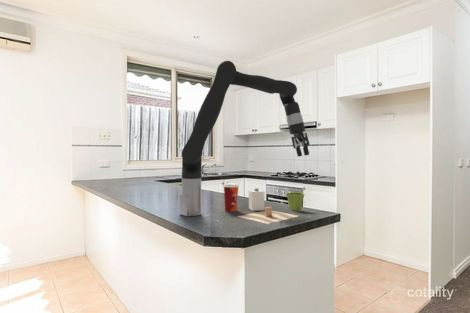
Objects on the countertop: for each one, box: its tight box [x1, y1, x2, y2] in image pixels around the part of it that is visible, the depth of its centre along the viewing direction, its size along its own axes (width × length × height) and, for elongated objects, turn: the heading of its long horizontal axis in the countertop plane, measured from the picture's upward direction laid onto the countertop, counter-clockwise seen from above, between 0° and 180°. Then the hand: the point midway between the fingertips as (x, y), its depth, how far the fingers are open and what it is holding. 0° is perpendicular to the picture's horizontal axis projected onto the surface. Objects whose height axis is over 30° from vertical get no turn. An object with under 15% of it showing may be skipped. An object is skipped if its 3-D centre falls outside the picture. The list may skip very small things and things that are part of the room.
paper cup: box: [223, 182, 240, 213], centre depth 141 cm, size 8×8×14 cm
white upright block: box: [248, 187, 266, 211], centre depth 145 cm, size 6×6×11 cm
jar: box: [264, 206, 273, 217], centre depth 128 cm, size 3×3×4 cm
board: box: [236, 210, 299, 225], centre depth 128 cm, size 22×18×1 cm
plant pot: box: [285, 192, 305, 212], centre depth 145 cm, size 9×9×9 cm
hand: (303, 155), depth 139 cm, fingers open, 8 cm apart
